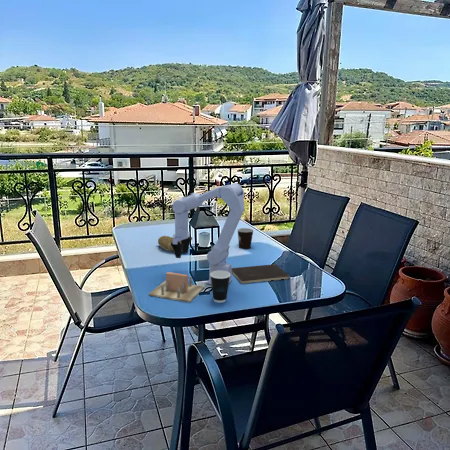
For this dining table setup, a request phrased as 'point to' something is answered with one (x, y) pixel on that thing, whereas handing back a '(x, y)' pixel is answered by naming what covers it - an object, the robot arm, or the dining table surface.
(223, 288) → the dixie cup
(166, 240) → the sponge
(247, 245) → the coffee mug
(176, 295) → the dish rack
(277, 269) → the hardcover book
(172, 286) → the brown rectangular block
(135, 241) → the dining table surface
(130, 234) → the dining table surface
